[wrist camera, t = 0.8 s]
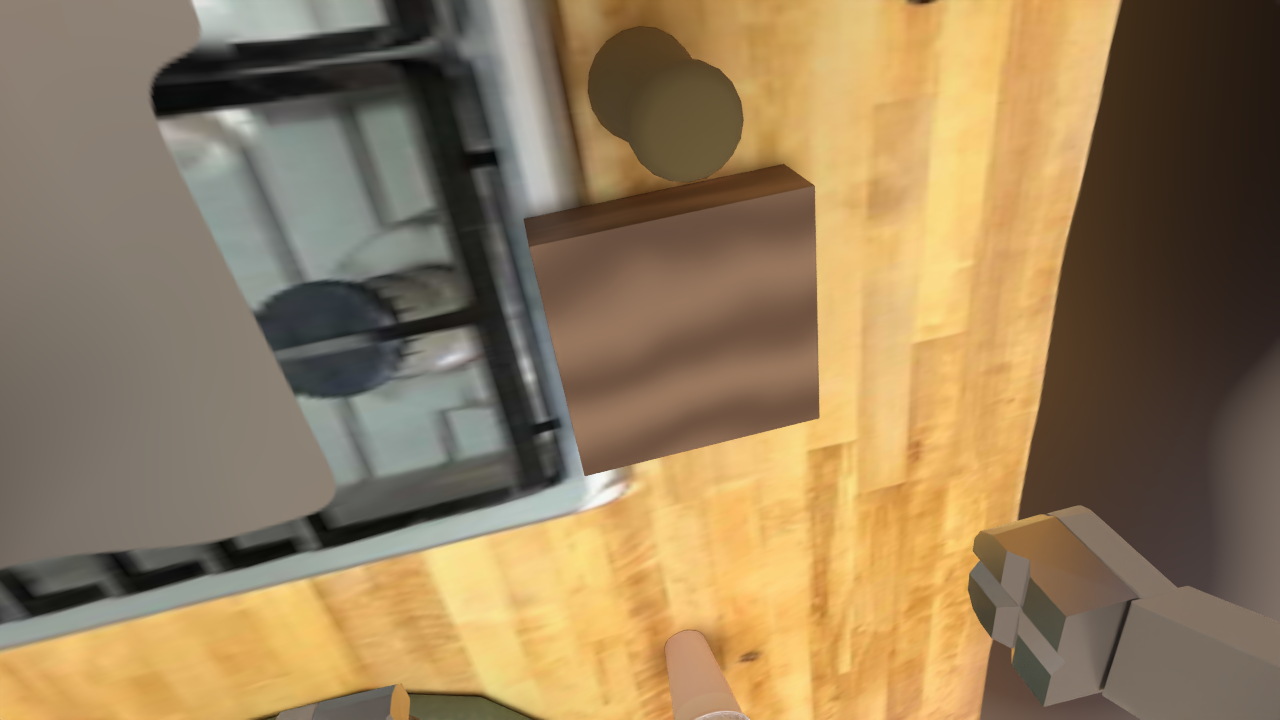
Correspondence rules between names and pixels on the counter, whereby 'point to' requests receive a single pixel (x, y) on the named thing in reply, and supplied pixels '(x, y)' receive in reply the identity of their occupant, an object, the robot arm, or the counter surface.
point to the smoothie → (698, 681)
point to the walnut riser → (683, 314)
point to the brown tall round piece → (665, 104)
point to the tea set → (457, 708)
